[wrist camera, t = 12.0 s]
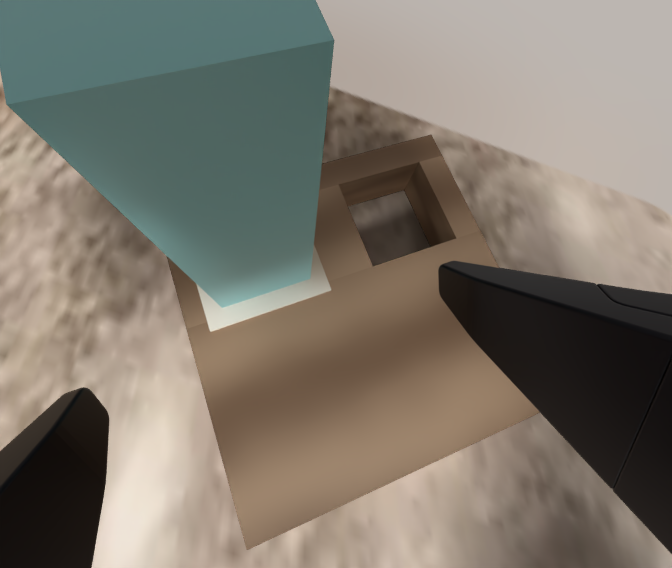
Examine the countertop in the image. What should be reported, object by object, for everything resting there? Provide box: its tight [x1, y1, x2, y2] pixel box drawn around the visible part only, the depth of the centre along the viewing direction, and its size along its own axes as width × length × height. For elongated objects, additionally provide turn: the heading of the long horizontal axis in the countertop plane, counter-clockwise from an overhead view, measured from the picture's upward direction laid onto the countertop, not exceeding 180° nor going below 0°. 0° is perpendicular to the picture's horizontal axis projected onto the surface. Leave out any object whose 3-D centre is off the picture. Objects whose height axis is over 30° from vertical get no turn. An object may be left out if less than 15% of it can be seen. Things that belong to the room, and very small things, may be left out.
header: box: [167, 135, 540, 550], centre depth 18 cm, size 16×16×3 cm
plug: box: [0, 0, 334, 308], centre depth 11 cm, size 4×4×12 cm
